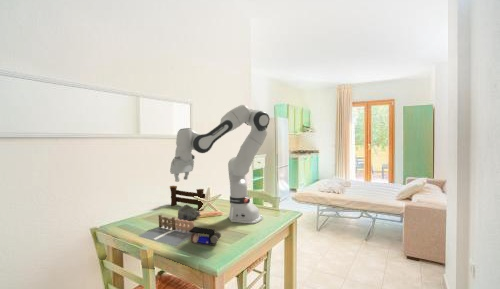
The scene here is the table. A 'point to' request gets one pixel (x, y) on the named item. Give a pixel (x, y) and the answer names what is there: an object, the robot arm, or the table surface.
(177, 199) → the decorative fence
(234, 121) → the robot arm
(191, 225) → the hinged fence panel
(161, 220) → the fixed fence section
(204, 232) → the figurine character
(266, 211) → the table surface
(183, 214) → the mineral rock
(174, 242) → the card
